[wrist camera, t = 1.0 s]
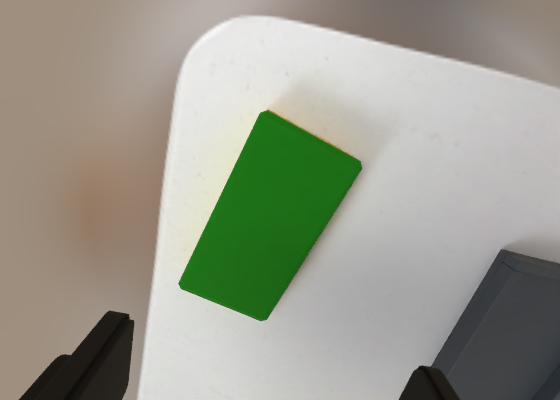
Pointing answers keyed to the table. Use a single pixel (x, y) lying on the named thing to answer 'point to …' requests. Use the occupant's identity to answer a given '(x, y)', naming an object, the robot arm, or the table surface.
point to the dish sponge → (268, 216)
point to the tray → (508, 334)
